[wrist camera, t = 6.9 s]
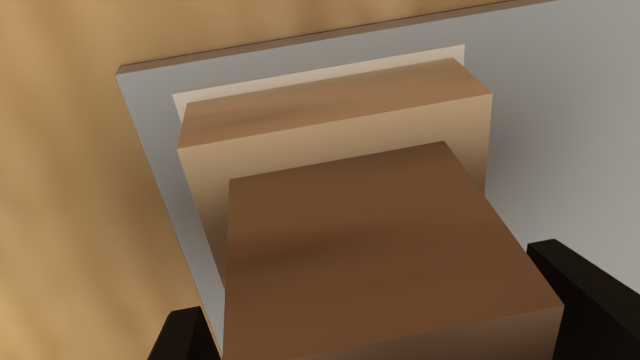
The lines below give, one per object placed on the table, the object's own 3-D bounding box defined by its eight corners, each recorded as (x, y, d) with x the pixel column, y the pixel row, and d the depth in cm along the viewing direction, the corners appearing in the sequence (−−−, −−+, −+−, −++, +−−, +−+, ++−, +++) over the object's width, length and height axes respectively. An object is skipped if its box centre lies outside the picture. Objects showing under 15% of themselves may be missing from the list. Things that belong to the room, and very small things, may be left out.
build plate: (695, 295, 21) (707, 307, 20) (239, 386, 20) (239, 400, 19) (856, -58, 13) (883, -54, 12) (119, 66, 12) (114, 76, 12)
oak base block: (447, 253, 16) (474, 306, 14) (245, 291, 16) (245, 351, 14) (453, 57, 13) (492, 93, 11) (187, 103, 12) (176, 149, 10)
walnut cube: (440, 290, 14) (525, 471, 10) (269, 323, 14) (282, 523, 10) (443, 140, 11) (564, 305, 7) (229, 179, 11) (222, 372, 7)
